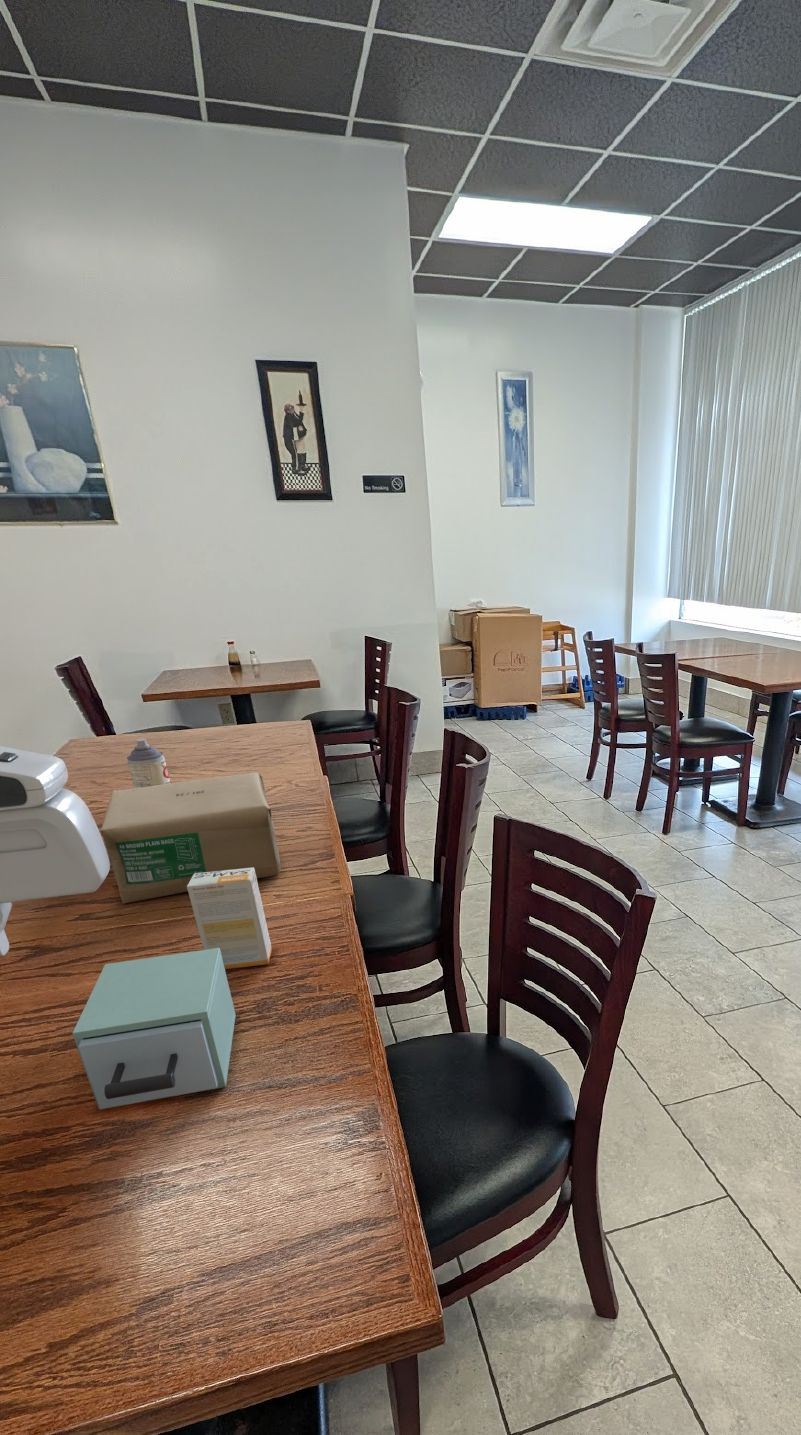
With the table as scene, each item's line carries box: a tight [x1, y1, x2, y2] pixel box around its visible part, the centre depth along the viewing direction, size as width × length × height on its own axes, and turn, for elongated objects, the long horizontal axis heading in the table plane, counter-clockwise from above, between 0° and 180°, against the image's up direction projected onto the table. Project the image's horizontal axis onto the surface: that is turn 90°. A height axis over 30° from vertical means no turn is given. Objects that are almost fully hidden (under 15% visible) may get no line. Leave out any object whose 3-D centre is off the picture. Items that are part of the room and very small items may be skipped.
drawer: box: [79, 1019, 218, 1110], centre depth 80 cm, size 18×11×8 cm, turn 15°
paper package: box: [100, 771, 282, 905], centre depth 136 cm, size 27×26×14 cm
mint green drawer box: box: [71, 948, 237, 1111], centre depth 84 cm, size 15×13×10 cm
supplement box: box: [187, 868, 273, 970], centre depth 104 cm, size 8×5×13 cm, turn 100°
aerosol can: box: [126, 738, 171, 789], centre depth 152 cm, size 7×7×20 cm
